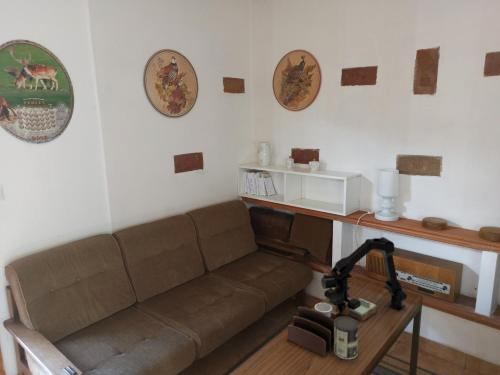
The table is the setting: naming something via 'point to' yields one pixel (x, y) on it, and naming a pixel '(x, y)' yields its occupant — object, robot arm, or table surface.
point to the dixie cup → (324, 308)
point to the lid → (363, 307)
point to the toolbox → (365, 315)
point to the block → (333, 308)
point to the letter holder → (312, 331)
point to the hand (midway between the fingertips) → (341, 313)
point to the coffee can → (346, 337)
